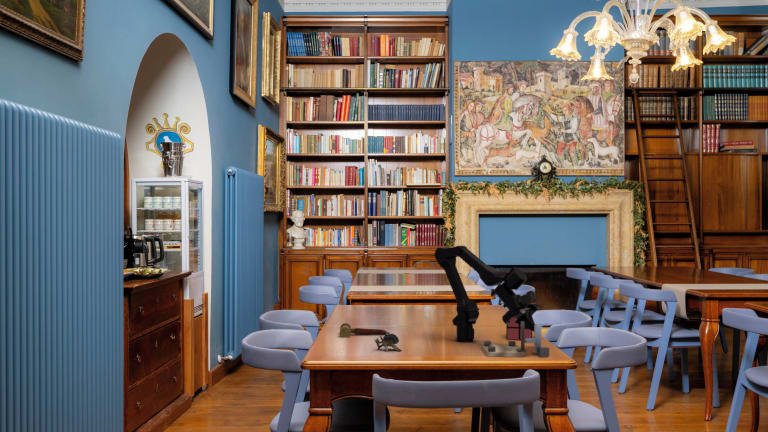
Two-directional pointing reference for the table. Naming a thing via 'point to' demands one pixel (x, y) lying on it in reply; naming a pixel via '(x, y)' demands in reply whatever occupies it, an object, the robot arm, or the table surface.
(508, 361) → the table surface
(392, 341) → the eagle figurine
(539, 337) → the folding leg
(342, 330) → the gavel
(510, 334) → the puzzle cube
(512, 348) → the stool seat
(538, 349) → the corner bracket
